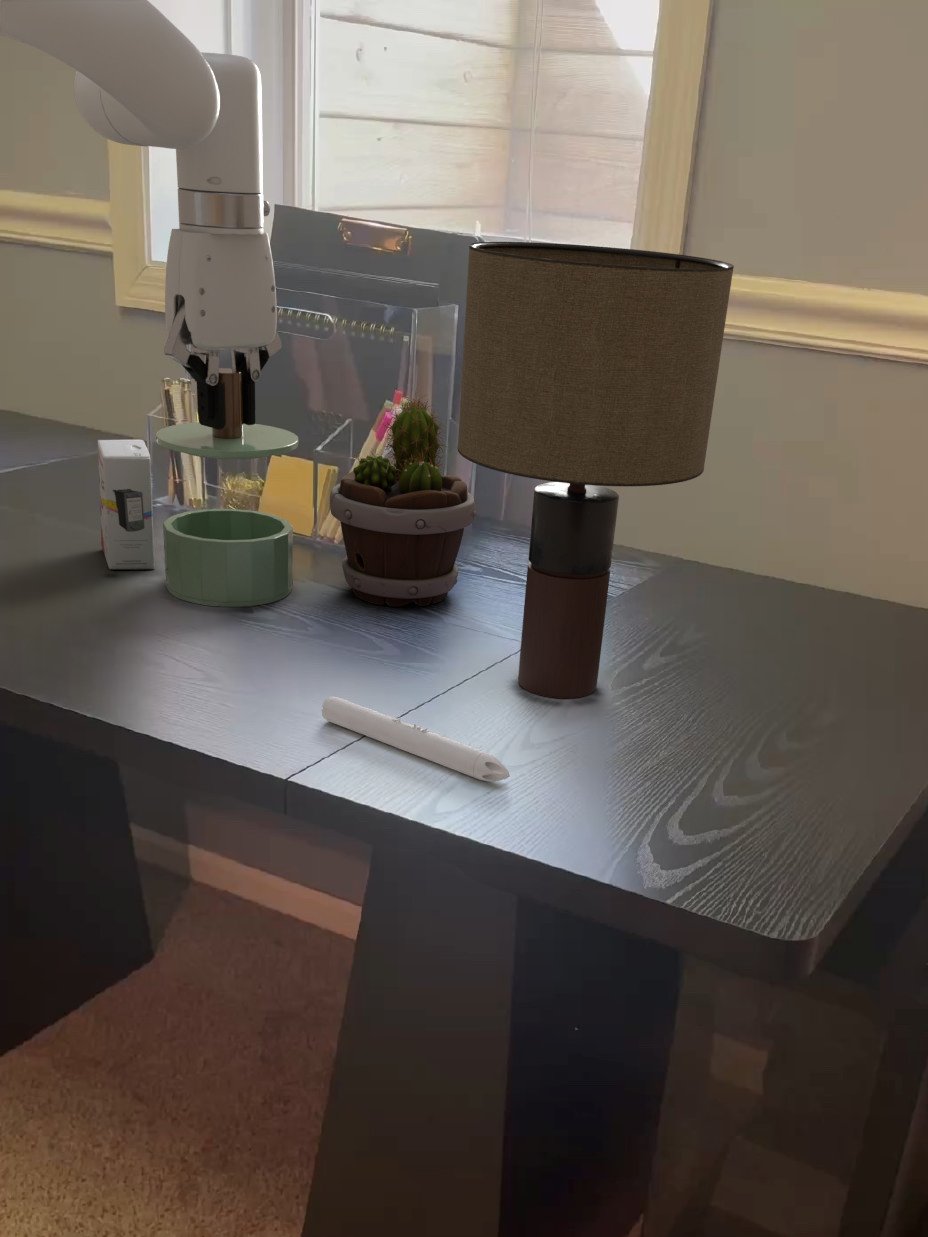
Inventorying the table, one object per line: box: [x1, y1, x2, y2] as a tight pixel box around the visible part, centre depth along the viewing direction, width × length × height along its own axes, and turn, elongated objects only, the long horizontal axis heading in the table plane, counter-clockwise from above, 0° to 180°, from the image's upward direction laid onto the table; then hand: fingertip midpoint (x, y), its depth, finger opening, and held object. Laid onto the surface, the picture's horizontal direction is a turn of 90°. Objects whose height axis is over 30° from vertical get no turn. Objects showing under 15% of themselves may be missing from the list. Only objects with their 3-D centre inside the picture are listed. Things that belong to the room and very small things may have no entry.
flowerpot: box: [329, 387, 478, 608], centre depth 131 cm, size 14×15×20 cm
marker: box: [321, 695, 511, 782], centre depth 100 cm, size 18×2×2 cm, turn 53°
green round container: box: [162, 508, 294, 608], centre depth 132 cm, size 13×13×6 cm
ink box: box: [97, 438, 156, 570], centre depth 137 cm, size 9×5×12 cm, turn 19°
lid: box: [155, 367, 299, 460], centre depth 125 cm, size 14×14×7 cm
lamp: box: [457, 241, 735, 699], centre depth 107 cm, size 20×20×35 cm
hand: (227, 422), depth 126 cm, fingers closed on lid, 3 cm apart
